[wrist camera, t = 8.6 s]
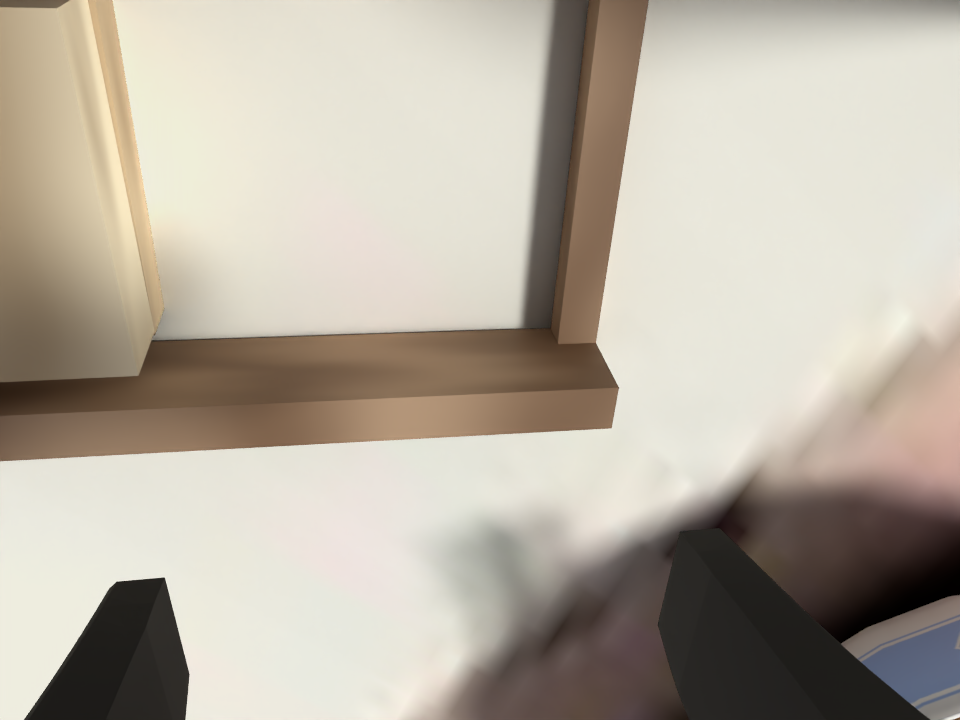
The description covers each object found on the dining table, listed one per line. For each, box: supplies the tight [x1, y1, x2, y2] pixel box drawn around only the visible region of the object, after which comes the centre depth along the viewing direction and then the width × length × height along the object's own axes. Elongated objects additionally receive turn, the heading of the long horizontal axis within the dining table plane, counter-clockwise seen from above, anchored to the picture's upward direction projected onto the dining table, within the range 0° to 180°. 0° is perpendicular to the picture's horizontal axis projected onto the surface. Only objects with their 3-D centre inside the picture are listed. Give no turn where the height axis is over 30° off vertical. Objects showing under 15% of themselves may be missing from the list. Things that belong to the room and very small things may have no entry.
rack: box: [0, 0, 648, 461], centre depth 16 cm, size 17×11×3 cm
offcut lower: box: [88, 0, 164, 335], centre depth 17 cm, size 5×7×2 cm
